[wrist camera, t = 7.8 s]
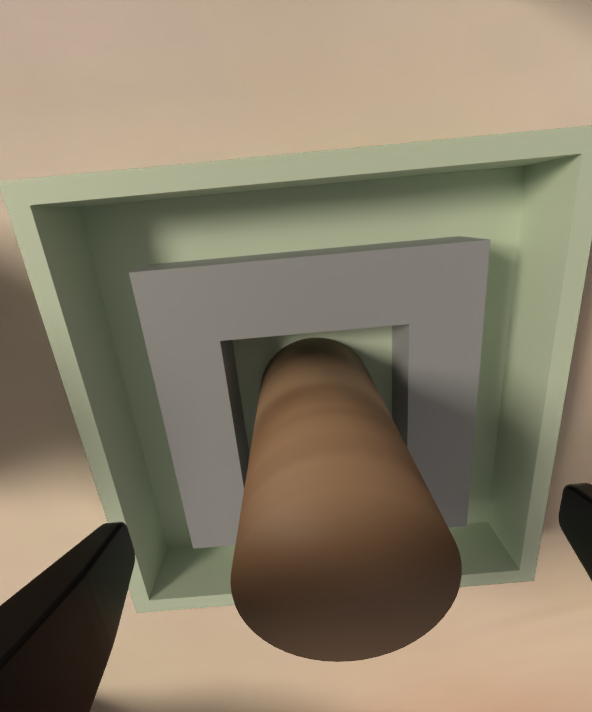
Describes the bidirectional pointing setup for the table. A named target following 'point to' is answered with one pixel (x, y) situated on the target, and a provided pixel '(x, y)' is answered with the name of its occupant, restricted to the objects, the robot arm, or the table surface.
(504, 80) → the table surface
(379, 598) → the peg
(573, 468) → the table surface
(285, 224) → the tray
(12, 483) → the table surface
